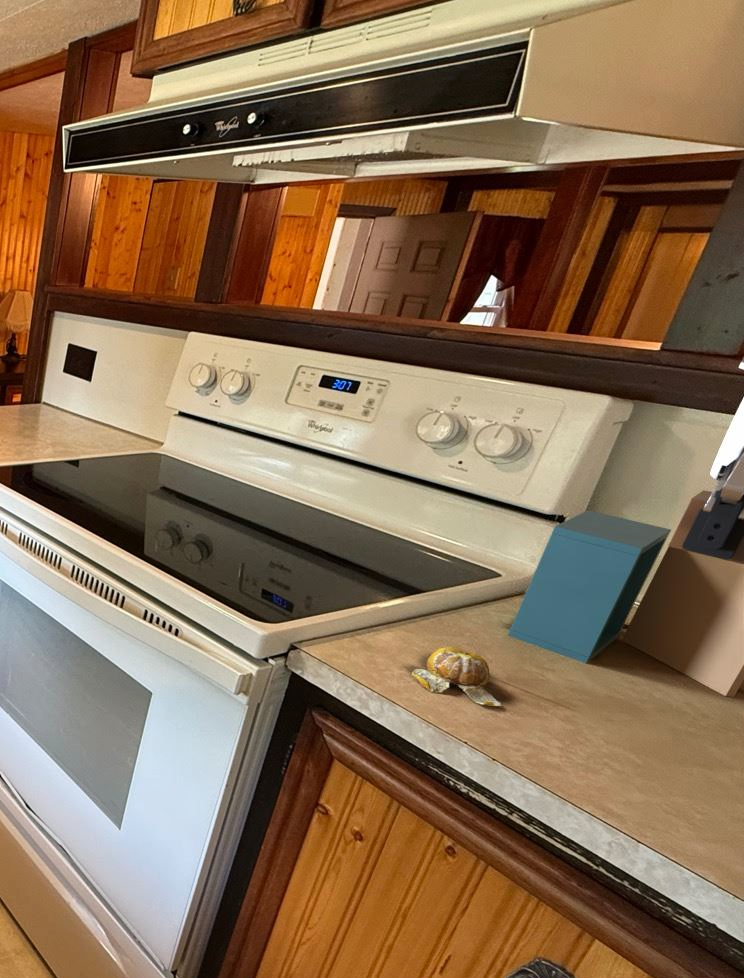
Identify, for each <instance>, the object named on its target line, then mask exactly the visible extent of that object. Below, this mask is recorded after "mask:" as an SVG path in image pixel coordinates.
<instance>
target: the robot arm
mask: <svg viewBox="0 0 744 978" xmlns="http://www.w3.org/2000/svg"><path fill="white" fill-rule="evenodd" d="M738 368H739V369H741V370H744V357H742V360H741V362H740V364H739V366H738ZM709 475H710V476H711V478H713V479H714V480H715V481H717V482H716V485H715V486H714V488H713V490H712V491H711V492H712V494H711V495H710V497H709V499H708V501H707V503H706V505H705V507H704V509H700V511H699V513H698V515H697V517H696V519H695V521H694V523H693V525H692V527H691V529H690V531H689V533H688V535H687V537H686V539H685V541H684V543H683V545H682V547H683V549H685V550H688V551H692V552H696V553H700V554H705V555H709V556H713V557H717V558H721V559H730V558H731V557H732V556H733V555H734V553H735V551H736V549H737V547H738V546H739V544H740V542H741V540H742V538H743V536H744V397H743V398H742V400H741V402H740V403H739V406H738V408H737V409H736V412H735V414H734V416H733V419H732V420H731V423H730V425H729V427H728V429H727V431H726V433H725V436H724V437H723V439H722V443H721V445H720V447H719V449H718V452H717V454H716V457H715V459H714V461H713V464H712V467H711V470H710V472H709Z"/></svg>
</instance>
